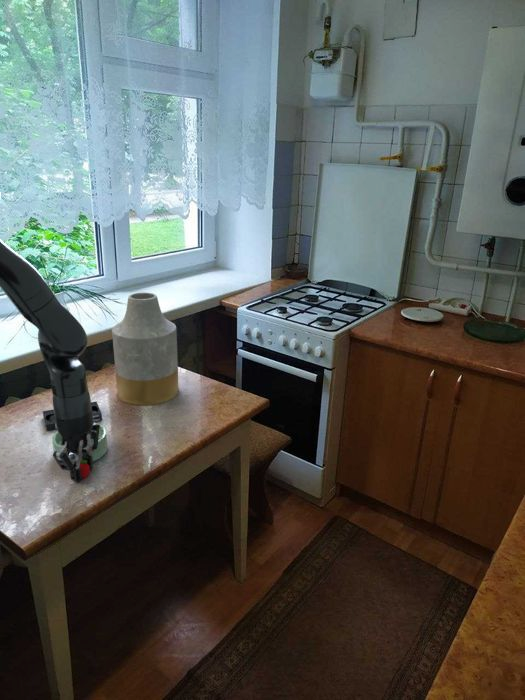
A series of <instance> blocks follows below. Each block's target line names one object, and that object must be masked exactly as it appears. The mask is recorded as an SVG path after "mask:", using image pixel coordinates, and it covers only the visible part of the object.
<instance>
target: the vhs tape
mask: <svg viewBox="0 0 525 700" xmlns="http://www.w3.org/2000/svg"><path fill="white" fill-rule="evenodd" d="M91 406H92V414H93V421H94V423H97V422H100V421H102V420H103V414H102V411H101V408H100V406H99V403H98V401H91ZM42 416H43V421H44V425H45V431H46V432H52V431H55V430H56V431H57V426H56V420H55V414H54V408H53V409H48V410H43V411H42Z"/></svg>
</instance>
